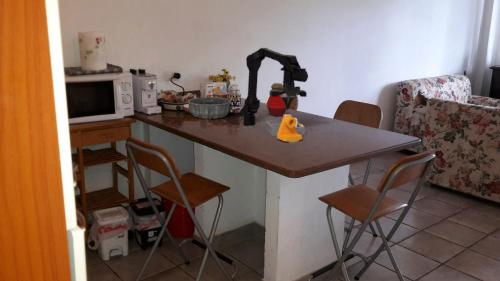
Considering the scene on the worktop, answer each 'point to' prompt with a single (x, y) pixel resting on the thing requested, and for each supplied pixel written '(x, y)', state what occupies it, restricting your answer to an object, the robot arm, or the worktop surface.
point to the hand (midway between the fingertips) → (287, 109)
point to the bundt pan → (209, 107)
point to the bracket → (288, 130)
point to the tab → (286, 115)
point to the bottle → (276, 102)
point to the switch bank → (275, 125)
